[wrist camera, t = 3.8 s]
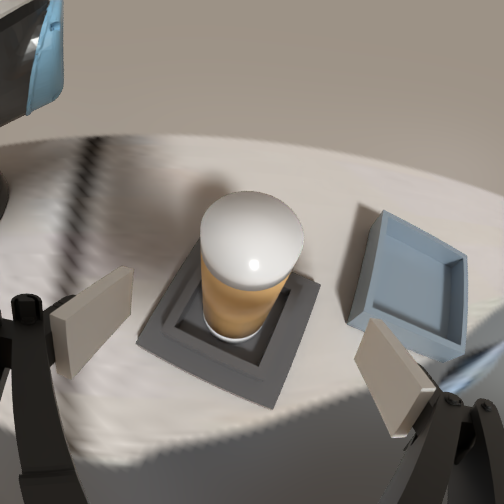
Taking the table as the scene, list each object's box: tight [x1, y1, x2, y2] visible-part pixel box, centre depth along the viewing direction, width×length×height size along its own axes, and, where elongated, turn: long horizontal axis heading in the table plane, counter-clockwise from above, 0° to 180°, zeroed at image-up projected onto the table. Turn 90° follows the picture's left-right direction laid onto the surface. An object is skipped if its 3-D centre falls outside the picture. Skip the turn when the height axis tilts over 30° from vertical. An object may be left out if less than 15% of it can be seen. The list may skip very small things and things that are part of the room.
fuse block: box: [136, 238, 321, 410], centre depth 24 cm, size 12×12×2 cm
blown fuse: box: [200, 191, 304, 344], centre depth 19 cm, size 5×5×12 cm
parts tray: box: [347, 210, 468, 363], centre depth 27 cm, size 12×12×4 cm
